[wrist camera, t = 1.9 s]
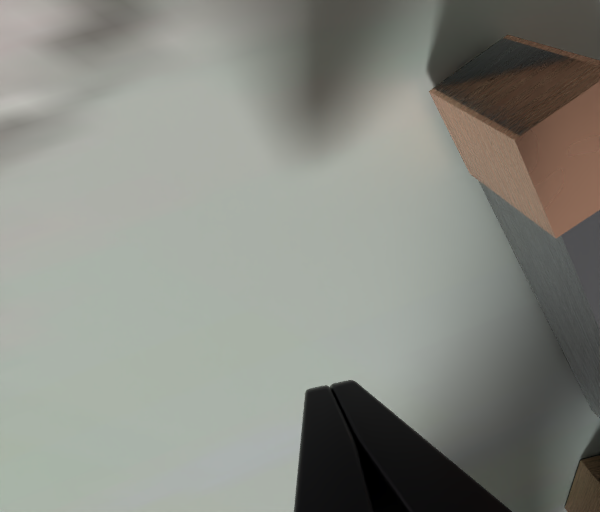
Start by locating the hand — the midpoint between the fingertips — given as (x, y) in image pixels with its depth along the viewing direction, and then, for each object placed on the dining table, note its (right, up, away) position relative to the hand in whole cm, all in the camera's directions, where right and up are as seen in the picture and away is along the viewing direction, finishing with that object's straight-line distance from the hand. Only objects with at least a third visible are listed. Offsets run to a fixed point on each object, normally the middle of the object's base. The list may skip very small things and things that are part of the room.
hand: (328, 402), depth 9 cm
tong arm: (+6, +2, +5) cm, 8 cm away
